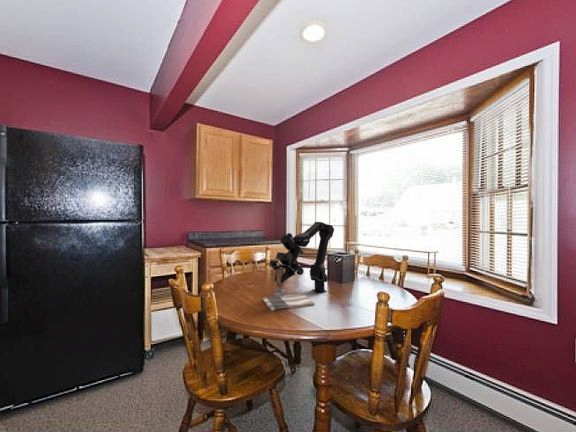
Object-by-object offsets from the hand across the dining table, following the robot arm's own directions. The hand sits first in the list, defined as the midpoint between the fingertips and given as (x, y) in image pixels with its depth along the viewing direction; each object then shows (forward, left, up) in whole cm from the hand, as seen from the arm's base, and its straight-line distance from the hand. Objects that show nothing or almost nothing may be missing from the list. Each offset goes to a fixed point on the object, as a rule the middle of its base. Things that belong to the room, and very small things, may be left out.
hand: (278, 281), depth 135 cm
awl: (-1, +1, -7) cm, 7 cm away
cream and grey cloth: (-5, +7, -12) cm, 15 cm away
